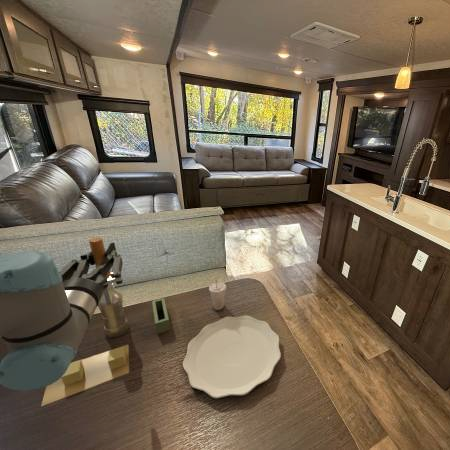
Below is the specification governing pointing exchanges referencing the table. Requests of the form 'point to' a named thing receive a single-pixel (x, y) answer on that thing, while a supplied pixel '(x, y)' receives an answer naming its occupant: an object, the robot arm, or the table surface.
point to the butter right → (117, 358)
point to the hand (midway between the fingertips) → (106, 247)
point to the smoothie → (218, 294)
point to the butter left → (73, 373)
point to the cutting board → (86, 377)
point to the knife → (99, 256)
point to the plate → (232, 356)
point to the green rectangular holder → (157, 306)
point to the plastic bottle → (113, 315)
